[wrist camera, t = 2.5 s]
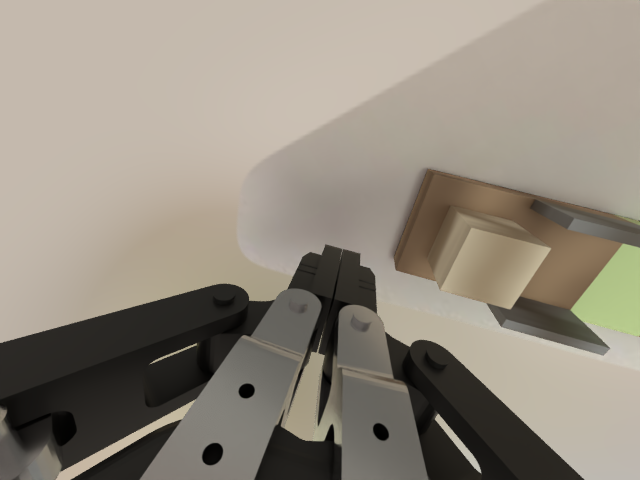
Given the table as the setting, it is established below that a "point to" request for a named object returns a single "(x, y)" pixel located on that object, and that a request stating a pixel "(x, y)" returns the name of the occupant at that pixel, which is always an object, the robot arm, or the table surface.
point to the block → (484, 257)
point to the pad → (614, 293)
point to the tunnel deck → (545, 224)
